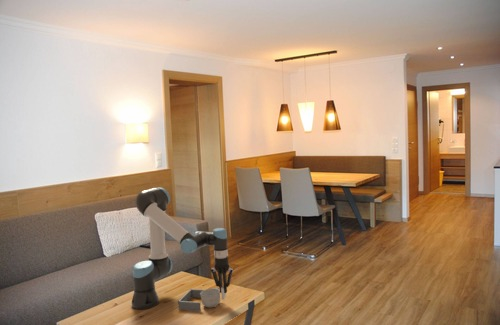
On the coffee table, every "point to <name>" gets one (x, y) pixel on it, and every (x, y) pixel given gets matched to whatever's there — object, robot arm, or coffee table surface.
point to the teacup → (210, 297)
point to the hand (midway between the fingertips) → (223, 298)
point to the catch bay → (187, 305)
